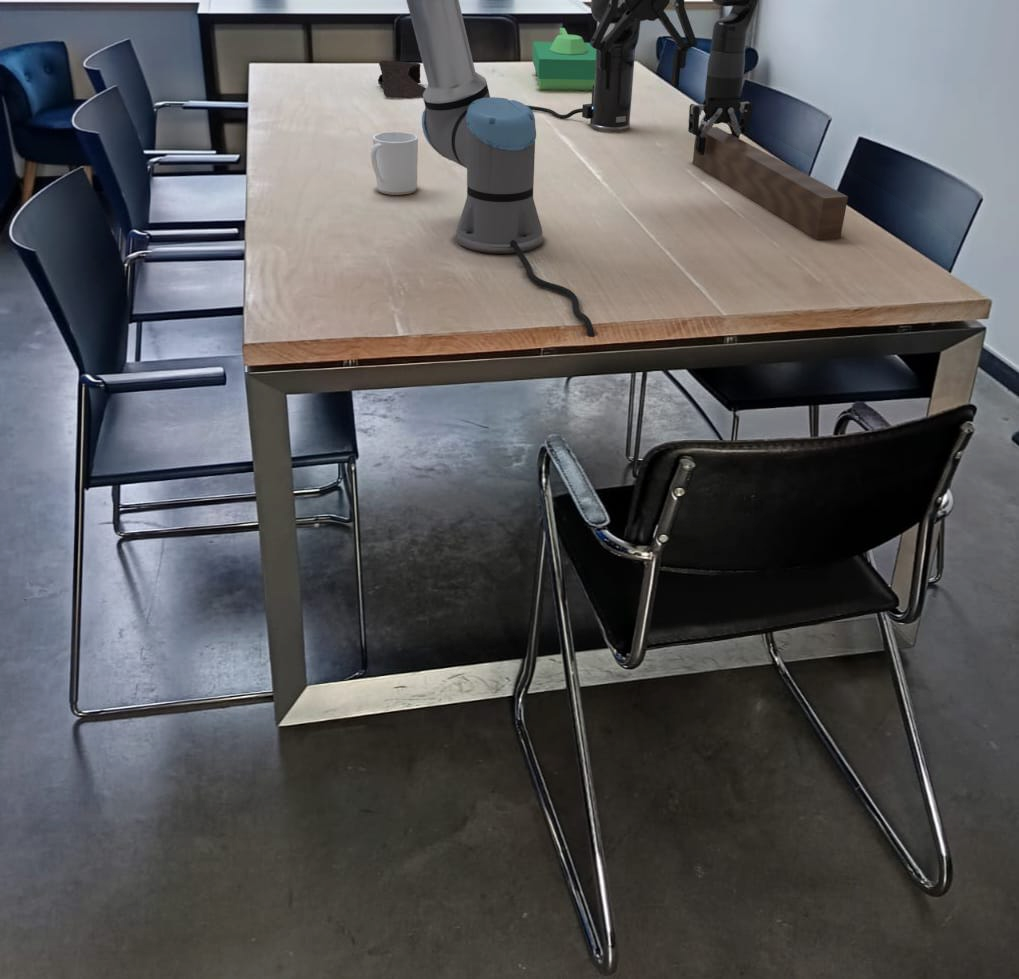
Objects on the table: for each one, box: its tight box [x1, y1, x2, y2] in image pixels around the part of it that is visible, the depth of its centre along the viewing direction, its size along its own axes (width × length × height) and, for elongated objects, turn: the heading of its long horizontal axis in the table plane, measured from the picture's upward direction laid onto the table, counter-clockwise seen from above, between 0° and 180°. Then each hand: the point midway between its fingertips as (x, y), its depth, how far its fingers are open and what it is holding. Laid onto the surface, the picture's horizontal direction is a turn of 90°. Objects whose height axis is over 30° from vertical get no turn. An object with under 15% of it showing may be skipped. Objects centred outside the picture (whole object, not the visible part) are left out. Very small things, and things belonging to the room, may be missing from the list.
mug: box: [370, 131, 419, 196], centre depth 218 cm, size 11×9×10 cm
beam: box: [692, 126, 849, 241], centre depth 220 cm, size 53×5×8 cm, turn 17°
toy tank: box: [531, 27, 596, 91], centre depth 315 cm, size 18×12×35 cm
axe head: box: [377, 59, 427, 99], centre depth 299 cm, size 18×8×15 cm
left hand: (640, 87), depth 211 cm, fingers open, 13 cm apart
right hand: (715, 153), depth 237 cm, fingers open, 7 cm apart
